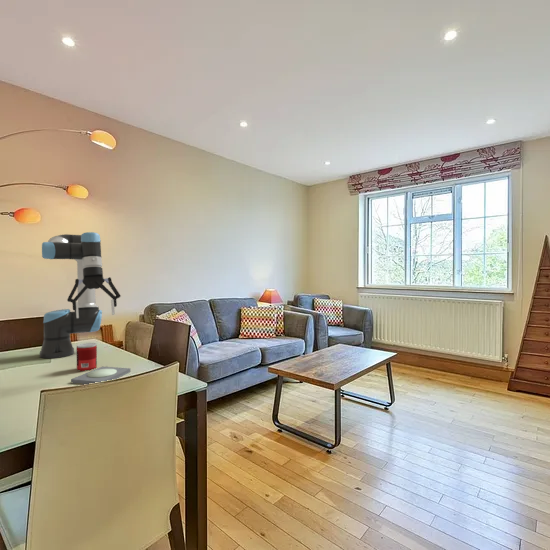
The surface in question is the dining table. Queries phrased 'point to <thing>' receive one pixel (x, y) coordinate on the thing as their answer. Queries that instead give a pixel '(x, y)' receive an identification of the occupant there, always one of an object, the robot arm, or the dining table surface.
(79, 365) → the canned food
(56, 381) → the dining table surface
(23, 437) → the dining table surface
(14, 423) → the dining table surface
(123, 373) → the board
